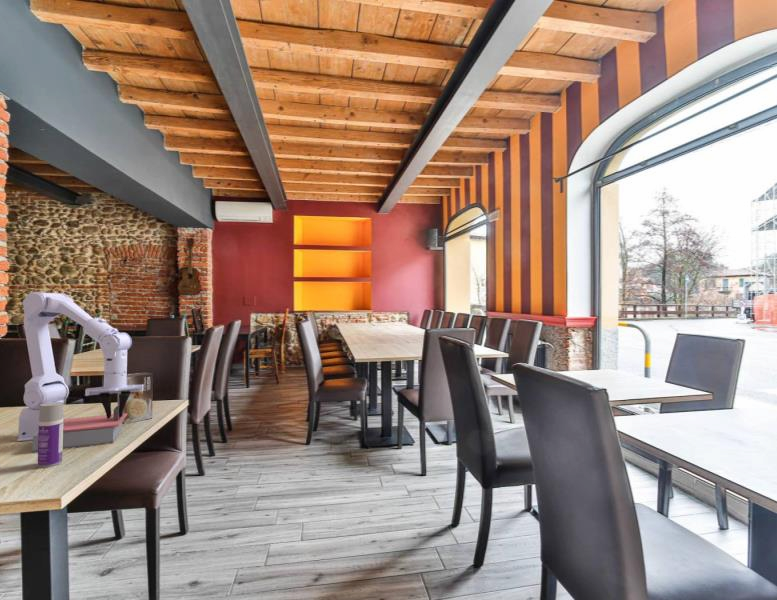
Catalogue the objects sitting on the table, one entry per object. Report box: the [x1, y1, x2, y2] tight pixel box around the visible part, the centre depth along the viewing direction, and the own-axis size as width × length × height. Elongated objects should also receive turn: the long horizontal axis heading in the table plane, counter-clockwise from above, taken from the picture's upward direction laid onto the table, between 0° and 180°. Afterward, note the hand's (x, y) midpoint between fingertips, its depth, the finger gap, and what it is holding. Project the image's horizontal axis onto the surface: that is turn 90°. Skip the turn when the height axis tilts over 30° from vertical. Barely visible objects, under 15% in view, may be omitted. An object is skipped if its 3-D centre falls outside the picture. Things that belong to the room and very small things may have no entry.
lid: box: [63, 405, 127, 432], centre depth 116 cm, size 18×14×4 cm
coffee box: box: [117, 371, 154, 425], centre depth 137 cm, size 9×6×16 cm
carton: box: [32, 422, 123, 453], centre depth 115 cm, size 18×14×4 cm
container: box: [37, 402, 64, 468], centre depth 98 cm, size 5×5×15 cm
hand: (114, 417), depth 119 cm, fingers open, 2 cm apart
